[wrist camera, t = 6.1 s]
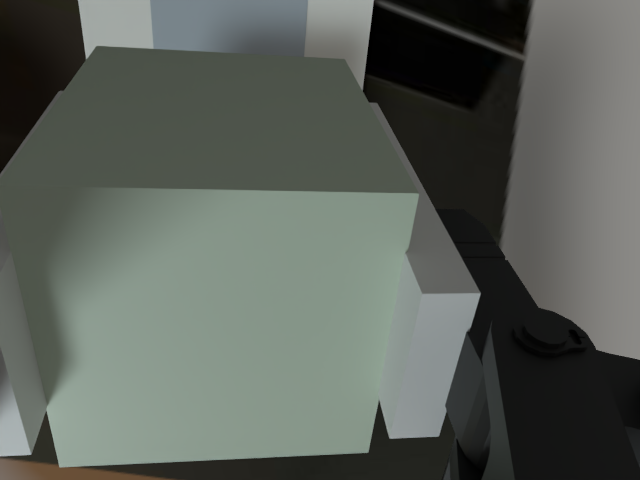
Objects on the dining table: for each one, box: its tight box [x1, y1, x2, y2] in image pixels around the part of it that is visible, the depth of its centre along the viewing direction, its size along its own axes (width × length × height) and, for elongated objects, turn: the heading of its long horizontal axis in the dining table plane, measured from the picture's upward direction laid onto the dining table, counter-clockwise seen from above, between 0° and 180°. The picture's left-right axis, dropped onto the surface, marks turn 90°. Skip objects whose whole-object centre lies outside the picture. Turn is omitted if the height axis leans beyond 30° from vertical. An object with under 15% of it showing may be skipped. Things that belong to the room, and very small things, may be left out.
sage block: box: [0, 46, 419, 467], centre depth 11 cm, size 5×5×6 cm
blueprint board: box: [78, 0, 374, 91], centre depth 27 cm, size 15×12×1 cm
